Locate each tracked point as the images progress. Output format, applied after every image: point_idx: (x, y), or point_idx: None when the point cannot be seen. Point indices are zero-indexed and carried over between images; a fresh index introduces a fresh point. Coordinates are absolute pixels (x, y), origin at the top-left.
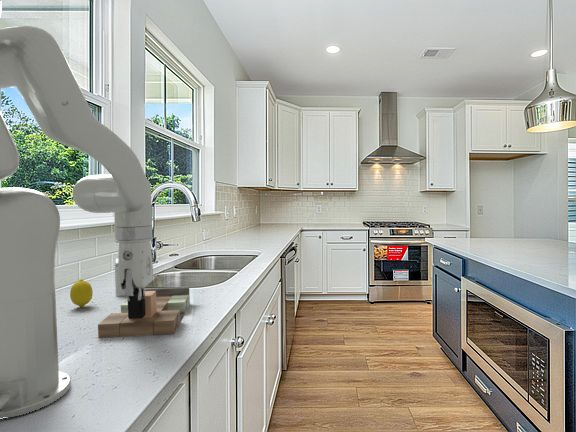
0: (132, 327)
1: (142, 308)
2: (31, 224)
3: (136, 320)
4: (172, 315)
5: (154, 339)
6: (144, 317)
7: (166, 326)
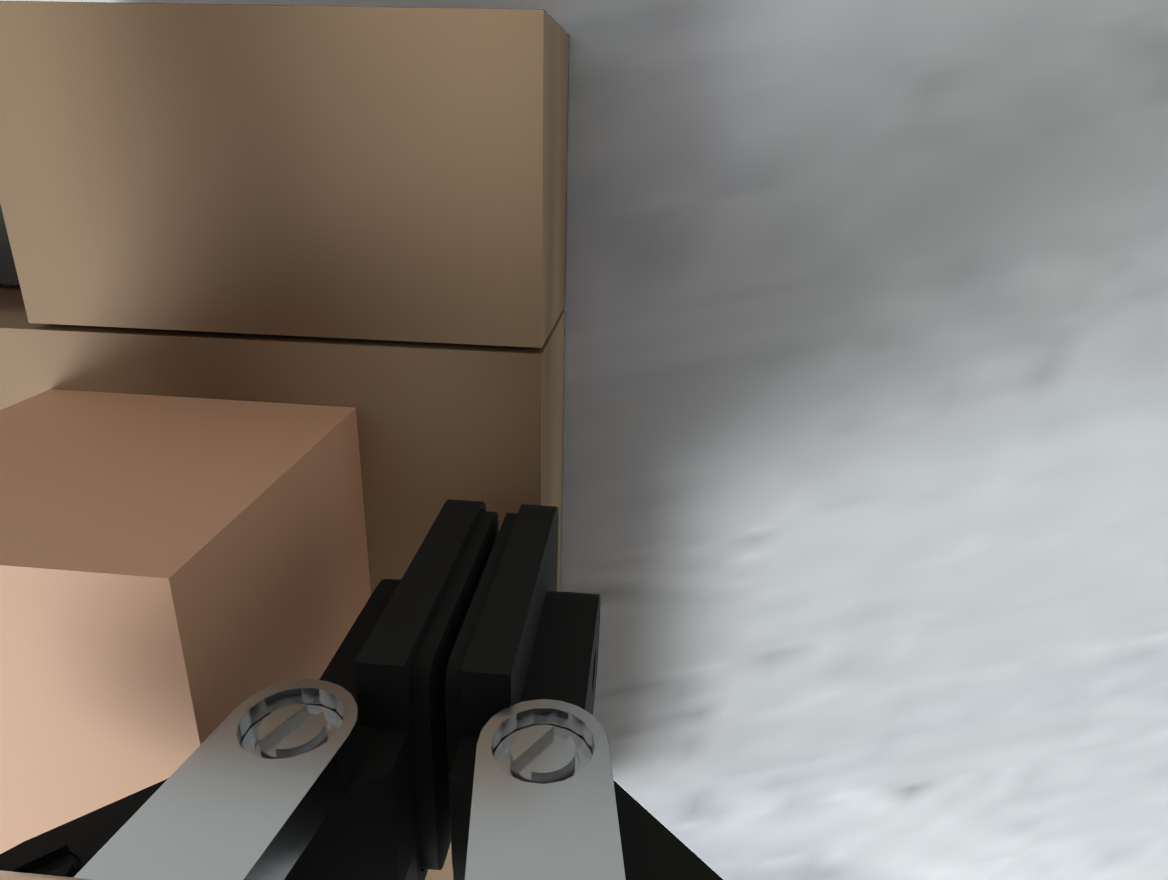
0: None
1: (537, 587)
2: None
3: None
4: (268, 87)
5: (718, 267)
6: (362, 499)
7: (553, 145)
